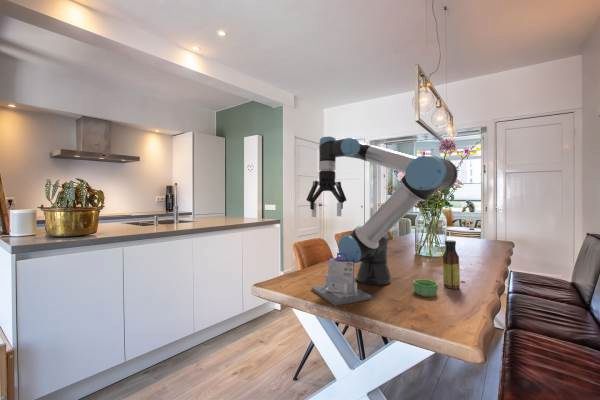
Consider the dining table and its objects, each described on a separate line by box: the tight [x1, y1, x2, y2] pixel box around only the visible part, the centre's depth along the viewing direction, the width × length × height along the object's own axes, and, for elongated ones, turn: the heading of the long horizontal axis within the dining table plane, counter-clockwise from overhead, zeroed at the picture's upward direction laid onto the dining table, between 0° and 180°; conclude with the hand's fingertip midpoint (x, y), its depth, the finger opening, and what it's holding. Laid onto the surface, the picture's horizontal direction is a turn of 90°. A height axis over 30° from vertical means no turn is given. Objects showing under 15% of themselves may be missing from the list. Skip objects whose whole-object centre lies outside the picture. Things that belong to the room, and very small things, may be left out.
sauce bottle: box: [442, 239, 461, 290], centre depth 121 cm, size 7×6×20 cm
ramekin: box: [412, 278, 439, 298], centre depth 113 cm, size 9×9×4 cm
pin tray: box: [311, 273, 373, 306], centre depth 111 cm, size 16×18×6 cm
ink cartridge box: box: [327, 252, 355, 293], centre depth 111 cm, size 10×6×14 cm, turn 78°
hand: (326, 216), depth 133 cm, fingers open, 13 cm apart
